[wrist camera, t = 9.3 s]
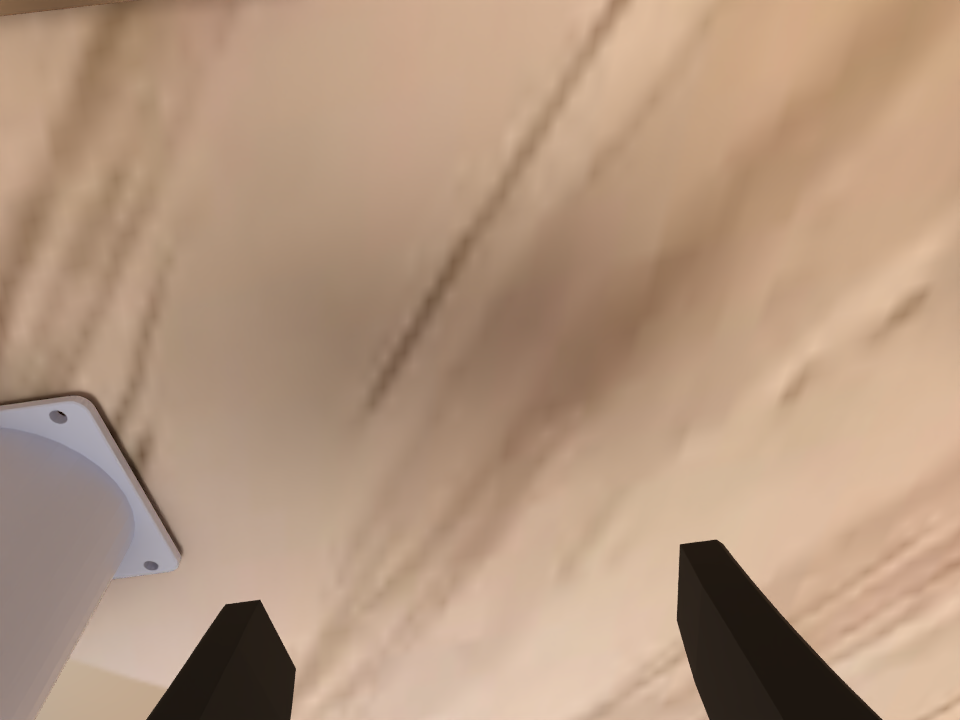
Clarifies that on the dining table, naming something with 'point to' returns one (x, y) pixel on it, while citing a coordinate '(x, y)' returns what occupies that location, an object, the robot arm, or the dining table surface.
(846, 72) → the dining table surface
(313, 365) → the dining table surface
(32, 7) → the walnut block
